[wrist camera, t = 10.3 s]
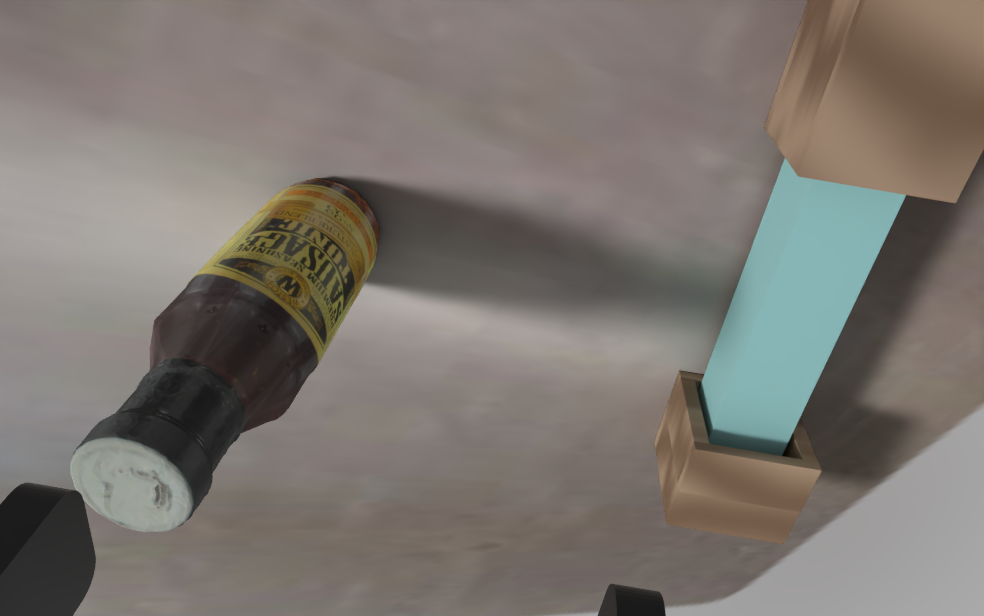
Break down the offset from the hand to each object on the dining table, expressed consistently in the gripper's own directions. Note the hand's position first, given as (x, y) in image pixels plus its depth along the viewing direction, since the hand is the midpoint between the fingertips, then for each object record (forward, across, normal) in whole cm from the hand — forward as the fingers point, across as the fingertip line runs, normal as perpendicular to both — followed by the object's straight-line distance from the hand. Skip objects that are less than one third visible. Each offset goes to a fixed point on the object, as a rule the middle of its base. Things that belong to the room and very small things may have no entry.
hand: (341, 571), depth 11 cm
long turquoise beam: (+27, -16, +8) cm, 33 cm away
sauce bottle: (+28, +8, +9) cm, 31 cm away
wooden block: (+28, -16, -4) cm, 33 cm away
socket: (+28, -16, +17) cm, 37 cm away
